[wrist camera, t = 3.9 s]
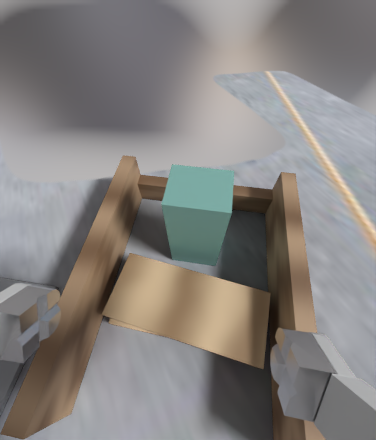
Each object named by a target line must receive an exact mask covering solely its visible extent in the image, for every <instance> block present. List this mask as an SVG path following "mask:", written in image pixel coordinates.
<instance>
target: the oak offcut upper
mask: <svg viewBox="0 0 376 440" xmlns="http://www.w3.org/2000/svg"><path fill="white" fill-rule="evenodd" d="M270 295H271V293H269V292H266V291H262V290H258V289H255V288H251V287H248V286H244V285H241V284H237V283H234V282H230V281H227V280H223V279H220V278H216V277H213V276H209V275H206V274H202V273H199V272H195V271H192V270H188V269H185V268H181V267H178V266H174V265H171V264H167V263H164V262H160V261H157V260H153V259H150V258H146V257H143V256H139V255H135V254H132V253H130V254H129V256H128V258H127V261H126V263H125V265H124V267H123V269H122V271H121V274H120V276H119V278H118V280H117V282H116V284H115V287H114V289H113V291H112V293H111V295H110V298H109V300H108V302H107V304H106V306H105V308H104V311H103V313H102V315H104V316H107V317H109V318H112V319H115V320H118V321H121V322H124V323H127V324H130V325H133V326H136V327H139V328H142V329H145V330H148V331H150V332H153V333H156V334H159V335H162V336H165V337H168V338H171V339H174V340H177V341H180V342H183V343H186V344H189V345H192V346H195V347H198V348H201V349H204V350H207V351H210V352H212V353H215V354H218V355H221V356H224V357H227V358H230V359H233V360H236V361H239V362H242V363H245V364H248V365H251V366H254V367H257V368H260V369H264V358H265V348H266V337H267V327H268V316H269V305H270Z"/></svg>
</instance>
